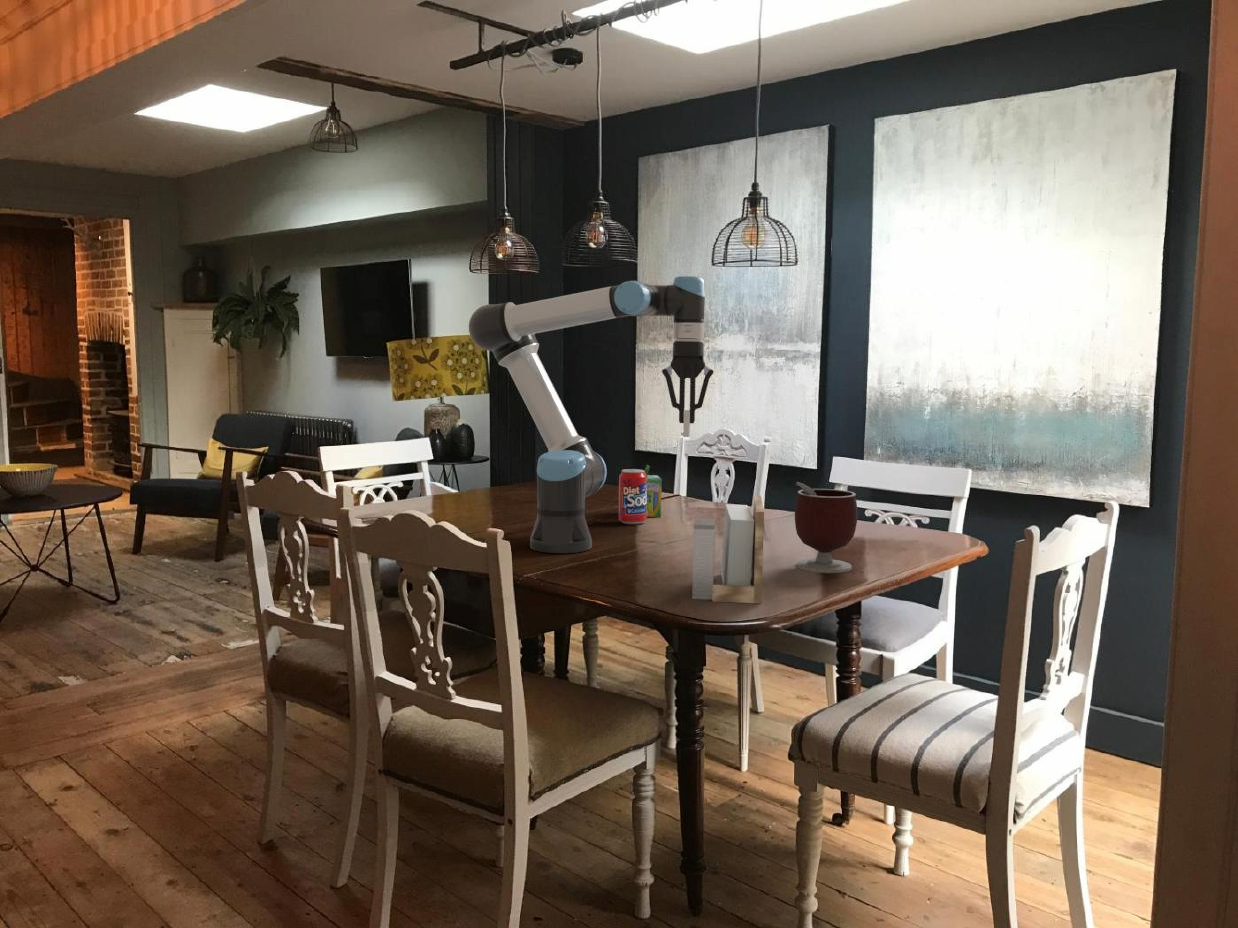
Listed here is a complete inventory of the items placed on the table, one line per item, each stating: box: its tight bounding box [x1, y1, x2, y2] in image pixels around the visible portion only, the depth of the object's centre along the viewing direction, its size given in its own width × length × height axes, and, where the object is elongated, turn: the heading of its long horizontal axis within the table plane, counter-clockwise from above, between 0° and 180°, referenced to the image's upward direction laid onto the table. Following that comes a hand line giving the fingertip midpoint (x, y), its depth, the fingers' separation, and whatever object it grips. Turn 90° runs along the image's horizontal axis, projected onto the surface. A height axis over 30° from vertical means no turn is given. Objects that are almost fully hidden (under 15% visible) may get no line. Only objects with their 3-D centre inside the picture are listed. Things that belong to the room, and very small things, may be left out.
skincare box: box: [720, 503, 754, 586], centre depth 207 cm, size 21×5×16 cm, turn 177°
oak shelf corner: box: [712, 494, 765, 604], centre depth 204 cm, size 10×22×18 cm, turn 174°
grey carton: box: [691, 517, 716, 601], centre depth 200 cm, size 4×8×15 cm, turn 174°
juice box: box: [644, 464, 663, 518], centre depth 294 cm, size 9×9×15 cm
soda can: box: [618, 468, 648, 526], centre depth 281 cm, size 8×8×15 cm
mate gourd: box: [794, 481, 858, 574], centre depth 226 cm, size 16×14×20 cm
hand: (686, 436), depth 247 cm, fingers closed
